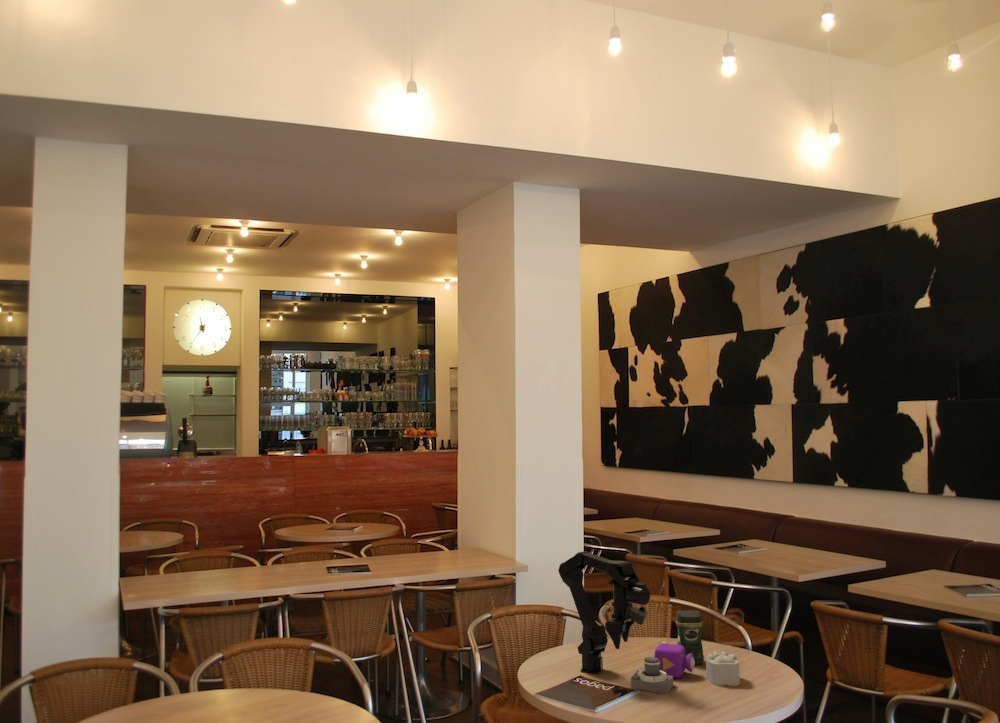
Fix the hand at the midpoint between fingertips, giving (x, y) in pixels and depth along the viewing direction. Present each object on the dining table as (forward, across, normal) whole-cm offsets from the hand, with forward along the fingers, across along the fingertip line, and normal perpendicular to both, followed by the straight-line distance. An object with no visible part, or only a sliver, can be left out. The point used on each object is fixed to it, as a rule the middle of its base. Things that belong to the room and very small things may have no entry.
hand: (621, 645), depth 284 cm
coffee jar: (+12, +29, -17) cm, 36 cm away
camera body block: (+11, -3, -12) cm, 16 cm away
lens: (+8, -3, -12) cm, 15 cm away
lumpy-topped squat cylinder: (+11, +15, -31) cm, 36 cm away
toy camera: (+12, +13, -15) cm, 23 cm away
